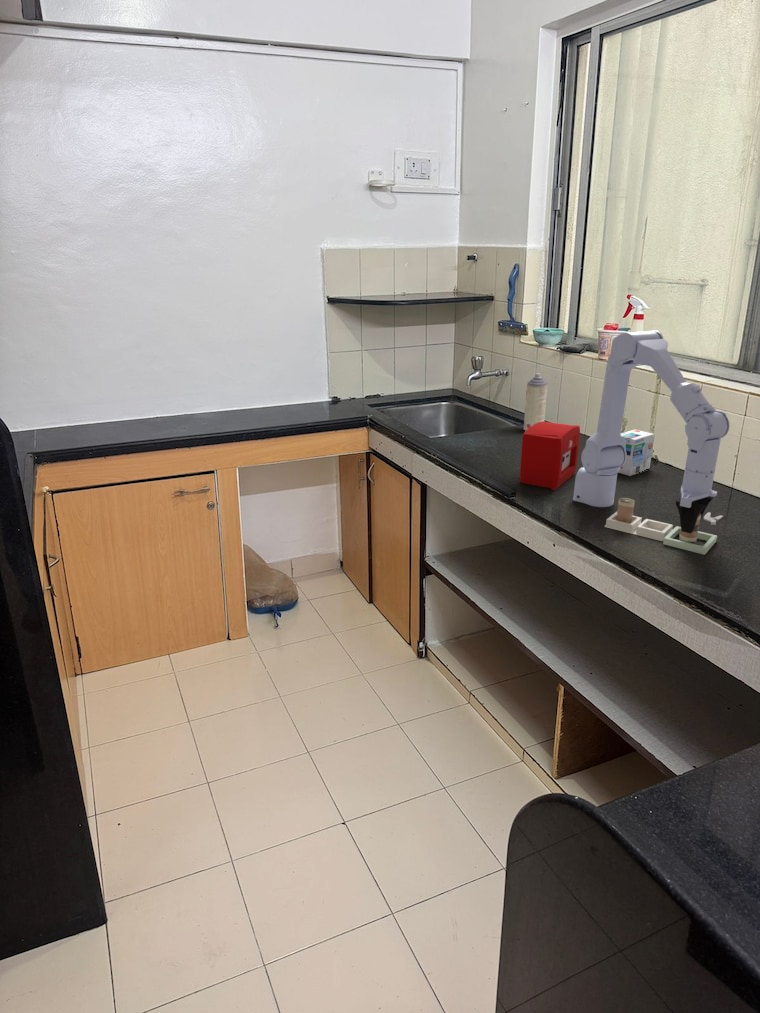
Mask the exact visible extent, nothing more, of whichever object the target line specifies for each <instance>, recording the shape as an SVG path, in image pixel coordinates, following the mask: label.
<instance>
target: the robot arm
mask: <svg viewBox="0 0 760 1013" xmlns="http://www.w3.org/2000/svg"><path fill="white" fill-rule="evenodd" d="M668 345H669V343H668V341H667V340H666V339H665V338H664V336H663V334H662V333H661V332H660V331H659V330H656V329H653V330H646V331H633V332H629V331H626V332H625V331H624V332H621V333H619V334H618V335H616V336H615V337H614V338H612V341H611V348H610V353H609V354H608V358H607V361H606V365H605V366H606V367H605V374H604V375H605V376H604V381H603V388H602V393H601V394H602V395H601V402H600V408H599V415H598V421H597V428H596V432H594V433H593V434H592V435H591V436H590V437H589V438H588V439H586V440H585V441H586V442H585V446H584V448H583V449H582V452H581V455H580V456H581V457H580V458H581V464H582V466H581V467H580V468H579V469H578V471H577V473H576V475H575V479H574V488H573V496H572V500H573V501H574V502H578V503H581V504H586V505H589V506H591V507H597V508H609V507H612V506H613V505H614V504H615V503H614V501H615V494H616V487H617V481H618V480H617V478H618V473H617V472H618V471H620V467H622V466H623V465H624V464H625V462H626V459H627V453H626V440H625V439H624V438H623V437H622V436H621V435H620V434H621V433H622V427H623V425H622V424H623V420H624V414H625V407H626V400H627V394H628V389H629V383H630V376H631V371H632V370H633V369H635V368H636V367H637V366H639V365H642V366H648V367H651V368H652V370H653V371H654V372H655V373H656V375H657V376H658V377H659V378H660V380H661V381H662V382H663V383H664V385H665V386H666V387H667V388H668V389H669V390H670V392H671V394H670V397H669V398H670V402H671V403H672V405H673V406H674V407H675V409H676V411H677V412H678V413H679V415H680V417H681V418H682V419H683V420H684V422H685V426H684V429H685V430H684V432H685V435H686V437H687V442H686V443H687V444H686V445H687V456H686V461H685V469H684V471H683V472H684V474H683V479H682V484H681V486H680V495H681V497H678V498H676V499H675V506H676V508H677V510H678V513H679V520H680V527H681V531H682V532H686V533H692V532H693V530H694V527H695V524H696V521H697V519H698V516H699V514H700V513H701V518H700V522H701V521H702V519H703V517H704V514H705V511H706V509H707V507H708V506H709V504H710V503H711V501H713V499H714V498H715V497H717V496H718V491H717V490H713V484H714V483H713V482H714V479H715V478H714V477H715V471H716V467H717V462H718V456H719V449H720V444H721V441H722V440H721V439H723V438H724V437H725V436H726V435H727V434H728V433H729V431H730V421H729V420H730V419H729V418H728V416H727V414H726V412H724V411H722V410H717V408H715V407H714V406H713V405H712V404H710V402H709V401H708V399H707V398H706V397H705V396H704V394H703V393H702V388H701V387H700V385H697V384H696V383H693V382H687V380H686V379H685V377H684V375H683V374H682V371H681V370H680V369H679V367H678V366H677V364H676V362H675V360H674V359H673V357H672V355H671V354H670V353H669V351H668Z"/></svg>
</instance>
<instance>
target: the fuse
mask: <svg viewBox="0 0 760 1013" xmlns="http://www.w3.org/2000/svg"><path fill="white" fill-rule="evenodd" d="M635 502H636V500H635V499H633V498H629V497H620V498H618V503H617V510H616V512H617V518H616V520H617V521H621V522H625V523H629V524H631V523H632V517H633V516H634V509H635Z"/></svg>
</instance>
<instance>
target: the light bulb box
mask: <svg viewBox="0 0 760 1013" xmlns="http://www.w3.org/2000/svg"><path fill="white" fill-rule="evenodd" d="M620 435H621V436H622V437H623V438H624V439H625V440H626V453H627V459H626V462H625V464H624V465H623V466H622V467H620V471H618V472H617V474H622V475H625V476H628V477H632V476H634V475H636V474H640V473H643V472H645V471H644V470H646V469H649V468H651V462H652V456H653V455H652V454H653V450H654V449H653V447H654V441H655V435H656V434H655V433H653V432H649V431H643V430H639V429H632V430H628V431H624V432H621V433H620ZM649 470H650V469H649ZM642 471H643V472H642ZM646 471H647V470H646ZM639 472H640V473H639Z"/></svg>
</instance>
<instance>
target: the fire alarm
mask: <svg viewBox="0 0 760 1013" xmlns="http://www.w3.org/2000/svg"><path fill="white" fill-rule="evenodd" d="M523 432H524V431H523ZM523 432H522V433H523ZM580 437H581V426H580V425H577V424H574V425H572V424H566V423H565V424H563V423H559V422H557V423H556V422H550V421H549V422H548V421H544V422H538V423H536V424H534V425H533V426H531V427H530V428H528V429H527V430H526V431H525V432H524V433H523V434H522V440H521V442H522V443H521V453H520V473H519V483H521V484H525V485H532V486H537V487H542V488H549V489H551V490H553V491H556V490H558V489H559V488H560V487H561V486H562V485H563V484H564V483H566V482H567V481H568V480H569V479H570V478H571V477H573V476H574V475H575V474H576V469H577V465H578V459H579V458H578V457H579V450H580V449H579V448H580Z"/></svg>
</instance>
